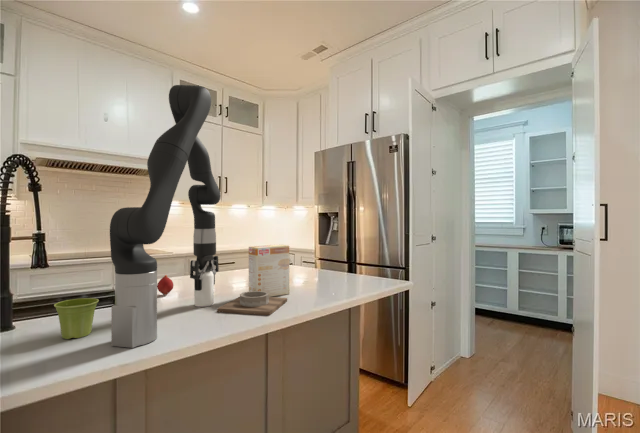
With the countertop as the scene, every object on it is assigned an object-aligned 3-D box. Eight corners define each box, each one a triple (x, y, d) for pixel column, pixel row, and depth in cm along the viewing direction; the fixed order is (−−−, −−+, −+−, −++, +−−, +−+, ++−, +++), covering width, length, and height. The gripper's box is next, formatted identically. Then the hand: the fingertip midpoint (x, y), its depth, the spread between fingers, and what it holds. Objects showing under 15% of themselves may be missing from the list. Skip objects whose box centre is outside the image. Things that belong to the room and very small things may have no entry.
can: (216, 302, 119) (216, 269, 119) (209, 307, 113) (209, 272, 113) (199, 302, 120) (199, 269, 120) (190, 307, 114) (190, 272, 114)
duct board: (269, 315, 104) (269, 302, 104) (217, 312, 108) (217, 299, 108) (287, 301, 122) (287, 289, 122) (241, 298, 125) (241, 287, 125)
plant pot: (83, 327, 93) (83, 296, 93) (106, 331, 89) (106, 299, 89) (45, 339, 84) (45, 304, 84) (69, 344, 81) (69, 308, 81)
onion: (153, 296, 129) (153, 275, 129) (164, 293, 135) (164, 273, 135) (166, 297, 127) (166, 276, 127) (176, 294, 133) (176, 274, 133)
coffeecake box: (281, 290, 139) (281, 244, 139) (290, 294, 133) (290, 245, 133) (247, 295, 130) (247, 246, 130) (255, 299, 124) (255, 247, 124)
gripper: (203, 243, 109) (203, 292, 109) (224, 240, 123) (224, 283, 123) (182, 243, 110) (183, 291, 111) (206, 239, 124) (206, 283, 125)
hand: (205, 287), depth 117 cm, fingers open, 8 cm apart
